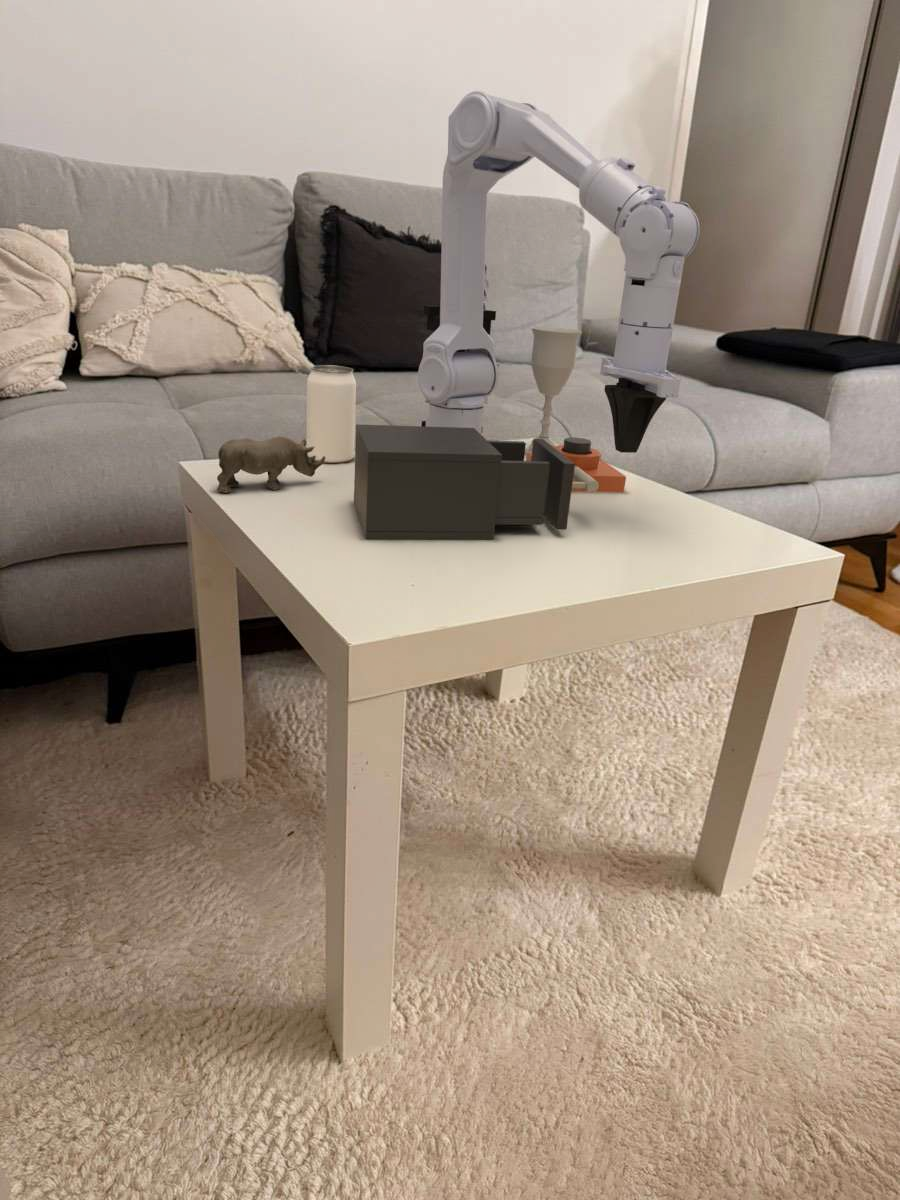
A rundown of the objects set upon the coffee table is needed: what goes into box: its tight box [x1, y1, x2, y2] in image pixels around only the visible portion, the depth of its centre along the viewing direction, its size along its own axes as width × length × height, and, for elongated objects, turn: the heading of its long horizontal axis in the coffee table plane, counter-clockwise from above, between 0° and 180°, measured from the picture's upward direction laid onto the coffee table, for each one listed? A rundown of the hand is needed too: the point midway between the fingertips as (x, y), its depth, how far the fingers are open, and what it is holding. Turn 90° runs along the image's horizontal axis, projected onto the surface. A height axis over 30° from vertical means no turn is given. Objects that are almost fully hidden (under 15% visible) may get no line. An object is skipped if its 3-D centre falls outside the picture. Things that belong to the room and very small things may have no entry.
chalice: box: [525, 326, 583, 454], centre depth 124 cm, size 7×7×18 cm
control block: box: [525, 444, 627, 493], centre depth 115 cm, size 12×10×4 cm
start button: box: [562, 436, 592, 455], centre depth 114 cm, size 4×4×2 cm
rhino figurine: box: [216, 436, 325, 494], centre depth 101 cm, size 4×14×6 cm, turn 120°
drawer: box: [486, 438, 599, 531], centre depth 95 cm, size 17×11×7 cm
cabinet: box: [353, 423, 502, 540], centre depth 92 cm, size 14×13×9 cm
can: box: [306, 364, 357, 464], centre depth 114 cm, size 6×6×12 cm
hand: (626, 451), depth 96 cm, fingers closed
